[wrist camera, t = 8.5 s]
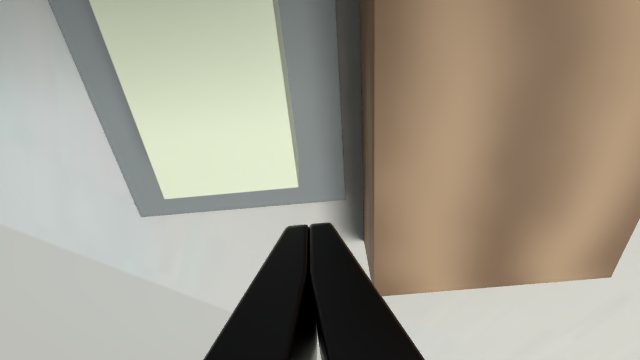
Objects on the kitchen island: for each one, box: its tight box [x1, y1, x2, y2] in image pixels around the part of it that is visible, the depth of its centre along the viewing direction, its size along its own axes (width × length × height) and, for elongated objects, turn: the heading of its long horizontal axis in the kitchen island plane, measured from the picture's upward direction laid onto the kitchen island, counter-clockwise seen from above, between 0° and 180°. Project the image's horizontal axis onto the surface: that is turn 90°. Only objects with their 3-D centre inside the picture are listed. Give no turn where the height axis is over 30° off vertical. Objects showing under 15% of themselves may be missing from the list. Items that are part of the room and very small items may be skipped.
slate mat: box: [48, 0, 345, 217], centre depth 18 cm, size 11×15×1 cm
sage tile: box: [89, 0, 299, 199], centre depth 17 cm, size 6×9×2 cm, turn 5°
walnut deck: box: [360, 0, 640, 296], centre depth 16 cm, size 12×22×4 cm, turn 4°
